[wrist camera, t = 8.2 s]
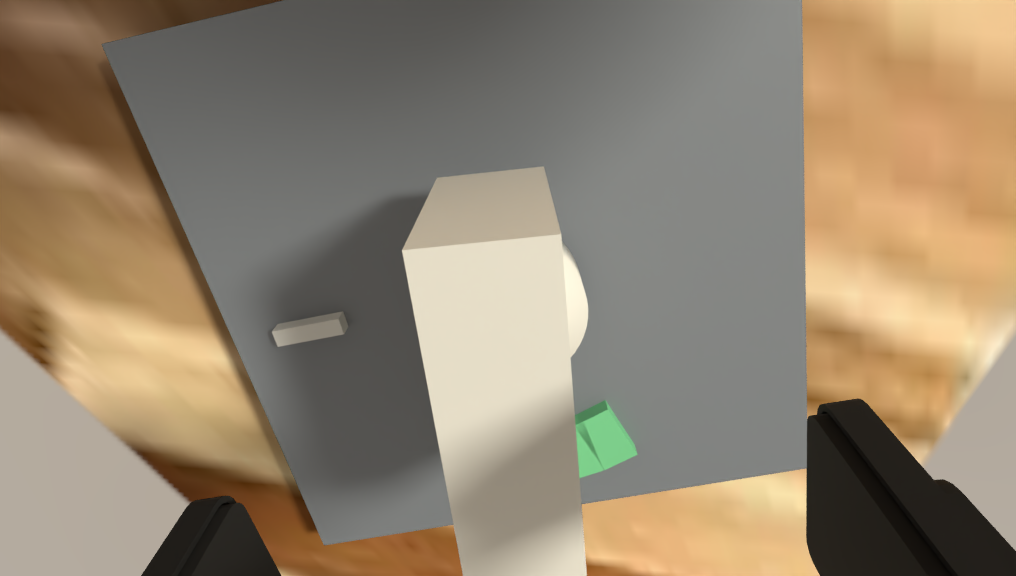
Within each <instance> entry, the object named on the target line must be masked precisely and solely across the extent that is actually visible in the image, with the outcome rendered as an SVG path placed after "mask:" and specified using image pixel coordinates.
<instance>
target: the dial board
mask: <svg viewBox="0 0 1016 576" xmlns="http://www.w3.org/2000/svg"><path fill="white" fill-rule="evenodd" d="M102 47H103V49H104V51H105V53H106V56H107V58H108V60H109V62H110V65H111V67H112V69H113V71H114V74H115V76H116V78H117V80H118V83H119V85H120V87H121V89H122V92H123V94H124V96H125V98H126V101H127V103H128V105H129V107H130V110H131V112H132V114H133V116H134V119H135V121H136V123H137V125H138V128H139V130H140V132H141V134H142V137H143V139H144V141H145V143H146V146H147V148H148V150H149V152H150V155H151V157H152V159H153V161H154V164H155V166H156V168H157V170H158V173H159V175H160V177H161V179H162V182H163V184H164V186H165V188H166V191H167V193H168V195H169V197H170V200H171V202H172V204H173V206H174V209H175V211H176V213H177V215H178V218H179V220H180V222H181V224H182V227H183V229H184V231H185V233H186V236H187V238H188V240H189V242H190V245H191V247H192V249H193V251H194V254H195V256H196V258H197V260H198V263H199V265H200V267H201V269H202V272H203V274H204V276H205V278H206V281H207V283H208V285H209V287H210V290H211V292H212V294H213V296H214V299H215V301H216V303H217V305H218V308H219V310H220V312H221V314H222V317H223V319H224V321H225V323H226V326H227V328H228V330H229V332H230V335H231V337H232V339H233V341H234V344H235V346H236V348H237V350H238V353H239V355H240V357H241V359H242V362H243V364H244V366H245V368H246V371H247V373H248V375H249V377H250V380H251V382H252V384H253V386H254V389H255V391H256V393H257V395H258V398H259V400H260V402H261V404H262V407H263V409H264V411H265V413H266V416H267V418H268V420H269V422H270V425H271V427H272V429H273V431H274V434H275V436H276V438H277V440H278V443H279V445H280V447H281V449H282V452H283V454H284V456H285V458H286V461H287V463H288V465H289V467H290V470H291V472H292V474H293V476H294V479H295V481H296V483H297V485H298V488H299V490H300V492H301V494H302V497H303V499H304V501H305V503H306V506H307V508H308V510H309V512H310V515H311V517H312V519H313V521H314V524H315V526H316V528H317V530H318V533H319V535H320V537H321V539H322V542H323V544H324V545H329V544H335V543H342V542H348V541H354V540H360V539H367V538H373V537H379V536H385V535H392V534H398V533H404V532H411V531H417V530H423V529H429V528H436V527H442V526H448V525H454V524H453V519H452V514H451V508H450V503H449V498H448V492H447V487H446V482H445V476H444V471H443V466H442V461H441V455H440V450H439V445H438V439H437V434H436V429H435V423H434V418H433V413H432V407H431V402H430V397H429V391H428V386H427V381H426V375H425V370H424V365H423V359H422V354H421V349H420V344H419V338H418V333H417V328H416V322H415V317H414V312H413V306H412V301H411V296H410V290H409V285H408V280H407V274H406V269H405V264H404V258H403V253H402V249H403V247H404V245H405V243H406V241H407V239H408V237H409V235H410V233H411V231H412V229H413V226H414V224H415V222H416V220H417V218H418V216H419V214H420V212H421V210H422V208H423V206H424V204H425V202H426V200H427V198H428V195H429V193H430V191H431V189H432V187H433V185H434V183H435V181H436V179H437V178H439V177H449V176H458V175H467V174H477V173H486V172H496V171H505V170H515V169H524V168H533V167H543V166H544V169H545V173H546V177H547V181H548V185H549V189H550V192H551V196H552V200H553V204H554V208H555V212H556V216H557V220H558V223H559V227H560V231H561V237H562V242H563V243H564V244H565V246H566V247H567V248H568V249H569V251H570V252H571V254H572V255H573V257H574V259H575V261H576V264H577V266H578V270H579V273H580V276H581V280H582V283H583V287H584V290H585V294H586V297H587V303H588V322H587V328H586V331H585V334H584V337H583V339H582V341H581V343H580V345H579V347H578V348H577V350H576V352H575V353H574V354H573V355H572V357H571V371H572V384H573V398H574V411H575V425H576V438H577V452H578V465H579V478H580V492H581V504H586V503H592V502H598V501H605V500H611V499H617V498H623V497H630V496H636V495H642V494H648V493H655V492H661V491H667V490H674V489H680V488H686V487H692V486H699V485H705V484H711V483H717V482H724V481H730V480H736V479H742V478H749V477H755V476H761V475H767V474H774V473H780V472H786V471H793V470H799V469H805V468H807V374H806V291H805V208H804V125H803V42H802V0H283V1H279V2H275V3H271V4H266V5H262V6H258V7H254V8H250V9H246V10H241V11H237V12H233V13H229V14H225V15H220V16H216V17H212V18H208V19H204V20H200V21H195V22H191V23H187V24H183V25H179V26H175V27H170V28H166V29H162V30H158V31H154V32H150V33H145V34H141V35H137V36H133V37H129V38H125V39H120V40H116V41H112V42H108V43H104V44H102Z"/></svg>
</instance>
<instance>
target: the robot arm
mask: <svg viewBox="0 0 1016 576" xmlns="http://www.w3.org/2000/svg"><path fill="white" fill-rule="evenodd" d="M806 537H807V545H808V549H809V553H810V556H811V558H812V561H813V563H814V565H815V567H816V569H817V571H818V573H819V574H820V576H1016V551H1015V550H1014V549H1013V548H1012V547H1011V546H1010V545H1009V543H1008V542H1007V541H1006V540H1005V539H1004V538H1003V537H1002V536H1001V535H1000V534H999V532H998V531H997V530H996V529H995V528H994V527H993V526H992V525H991V524H990V523H989V521H988V520H987V519H986V518H985V517H984V516H983V515H982V514H981V513H980V512H979V511H978V510H977V508H976V507H975V506H974V505H973V504H972V503H971V502H970V501H969V500H968V498H967V497H966V496H965V495H964V494H963V493H962V492H961V491H960V490H959V489H958V488H957V487H955V486H954V485H953V484H951V483H950V482H948V481H946V480H933V479H932V477H931V476H930V475H929V474H928V473H927V472H926V471H925V470H924V468H923V467H922V466H921V465H920V464H919V463H918V461H917V460H916V459H915V458H914V457H913V456H912V455H911V453H910V452H909V451H908V450H907V449H906V448H905V447H904V445H903V444H902V443H901V442H900V441H899V440H898V439H897V437H896V436H895V435H894V434H893V433H892V432H891V431H890V429H889V428H888V427H887V426H886V425H885V424H884V423H883V421H882V420H881V419H880V418H879V417H878V416H877V415H876V413H875V412H874V411H873V410H872V409H871V408H870V407H869V405H868V404H867V403H865V402H864V401H863V400H861V399H852V400H846V401H839V402H833V403H826V404H821V405H820V406H819V408H818V411H817V415H812V416H809V417H808V419H807V527H806ZM141 576H281V574H280V573H279V571H278V569H277V567H276V565H275V563H274V561H273V559H272V557H271V556H270V554H269V552H268V550H267V548H266V546H265V544H264V542H263V540H262V539H261V537H260V535H259V533H258V531H257V529H256V527H255V525H254V523H253V522H252V520H251V518H250V516H249V514H248V512H247V510H246V508H245V507H244V506H243V505H242V504H241V503H236V501H235V500H234V499H233V498H232V497H230V496H221V497H214V498H208V499H201V500H195V501H193V502H191V503H190V504H189V505H188V506H187V508H186V509H185V511H184V512H183V514H182V515H181V516H180V518H179V519H178V521H177V523H176V524H175V525H174V527H173V528H172V530H171V532H170V533H169V535H168V536H167V538H166V539H165V541H164V542H163V544H162V545H161V547H160V548H159V550H158V551H157V553H156V554H155V556H154V557H153V559H152V560H151V562H150V563H149V565H148V566H147V568H146V569H145V571H144V572H143V574H142V575H141Z"/></svg>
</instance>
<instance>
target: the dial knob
mask: <svg viewBox="0 0 1016 576" xmlns="http://www.w3.org/2000/svg"><path fill="white" fill-rule="evenodd" d="M402 253H403V258H404V264H405V269H406V274H407V280H408V285H409V290H410V296H411V301H412V306H413V312H414V317H415V322H416V328H417V333H418V338H419V344H420V349H421V354H422V359H423V365H424V370H425V375H426V381H427V386H428V391H429V397H430V402H431V407H432V413H433V418H434V423H435V429H436V434H437V439H438V445H439V450H440V455H441V461H442V466H443V471H444V476H445V482H446V487H447V492H448V498H449V503H450V508H451V514H452V519H453V524H454V530H455V535H456V540H457V546H458V551H459V556H460V562H461V567H462V572H463V576H587V572H586V559H585V545H584V532H583V519H582V505H581V492H580V478H579V465H578V452H577V438H576V425H575V411H574V398H573V384H572V371H571V357H572V355H573V354H574V353H575V352H576V350H577V348H578V347H579V345H580V343H581V341H582V339H583V337H584V334H585V331H586V328H587V322H588V303H587V297H586V294H585V290H584V287H583V283H582V280H581V276H580V273H579V270H578V266H577V264H576V261H575V259H574V257H573V255H572V254H571V252H570V251H569V249H568V248H567V247H566V246H565V244H564V243H563V242H562V237H561V231H560V227H559V223H558V220H557V216H556V212H555V208H554V204H553V200H552V196H551V192H550V189H549V185H548V181H547V177H546V173H545V169H544V166H543V167H533V168H524V169H515V170H505V171H496V172H486V173H477V174H467V175H458V176H449V177H439V178H437V179H436V181H435V183H434V185H433V187H432V189H431V191H430V193H429V195H428V198H427V200H426V202H425V204H424V206H423V208H422V210H421V212H420V214H419V216H418V218H417V220H416V222H415V224H414V226H413V229H412V231H411V233H410V235H409V237H408V239H407V241H406V243H405V245H404V247H403V249H402Z"/></svg>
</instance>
